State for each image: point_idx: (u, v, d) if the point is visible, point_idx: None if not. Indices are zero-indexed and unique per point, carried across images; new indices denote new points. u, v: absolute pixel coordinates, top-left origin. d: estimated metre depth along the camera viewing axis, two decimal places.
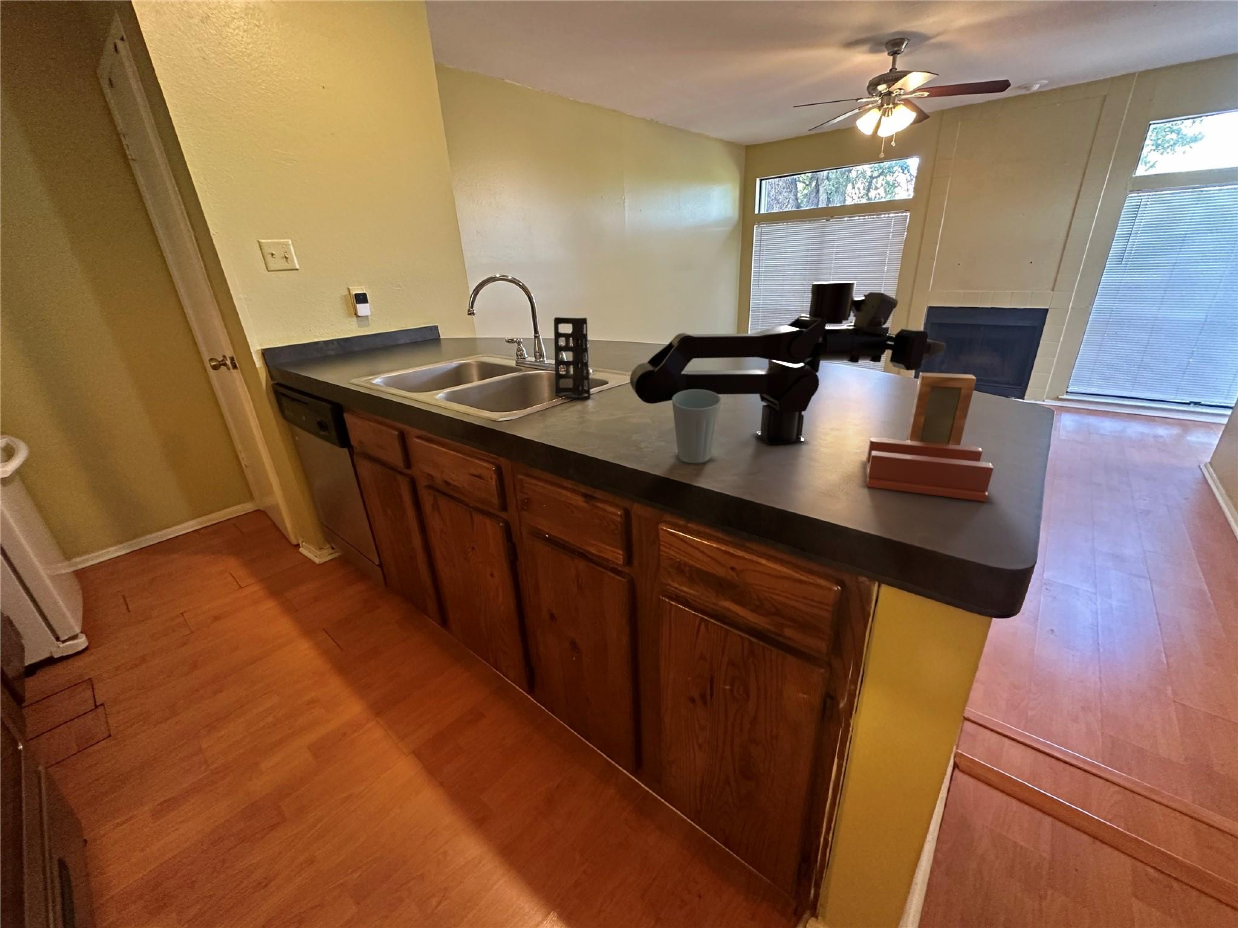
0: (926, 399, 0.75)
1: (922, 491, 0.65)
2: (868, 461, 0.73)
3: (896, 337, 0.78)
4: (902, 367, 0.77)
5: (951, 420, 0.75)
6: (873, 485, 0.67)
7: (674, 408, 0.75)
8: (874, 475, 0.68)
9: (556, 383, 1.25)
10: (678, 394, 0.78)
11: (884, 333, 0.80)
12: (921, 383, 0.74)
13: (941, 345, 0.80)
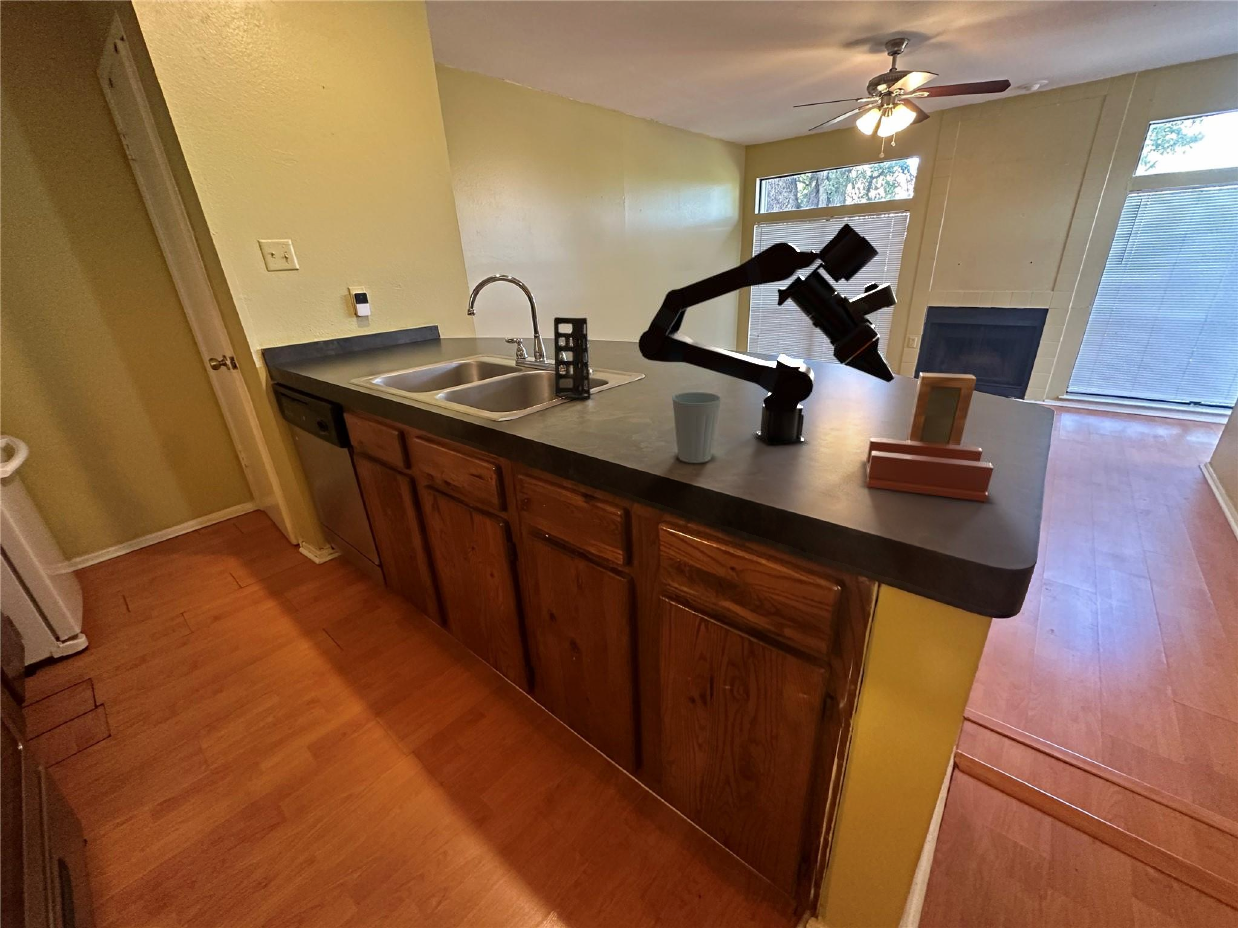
0: (926, 399, 0.75)
1: (922, 491, 0.65)
2: (868, 461, 0.73)
3: (857, 325, 0.72)
4: None
5: (951, 420, 0.75)
6: (873, 485, 0.67)
7: (674, 405, 0.77)
8: (874, 475, 0.68)
9: (556, 383, 1.25)
10: (679, 395, 0.80)
11: (857, 321, 0.74)
12: (921, 383, 0.74)
13: (889, 375, 0.73)
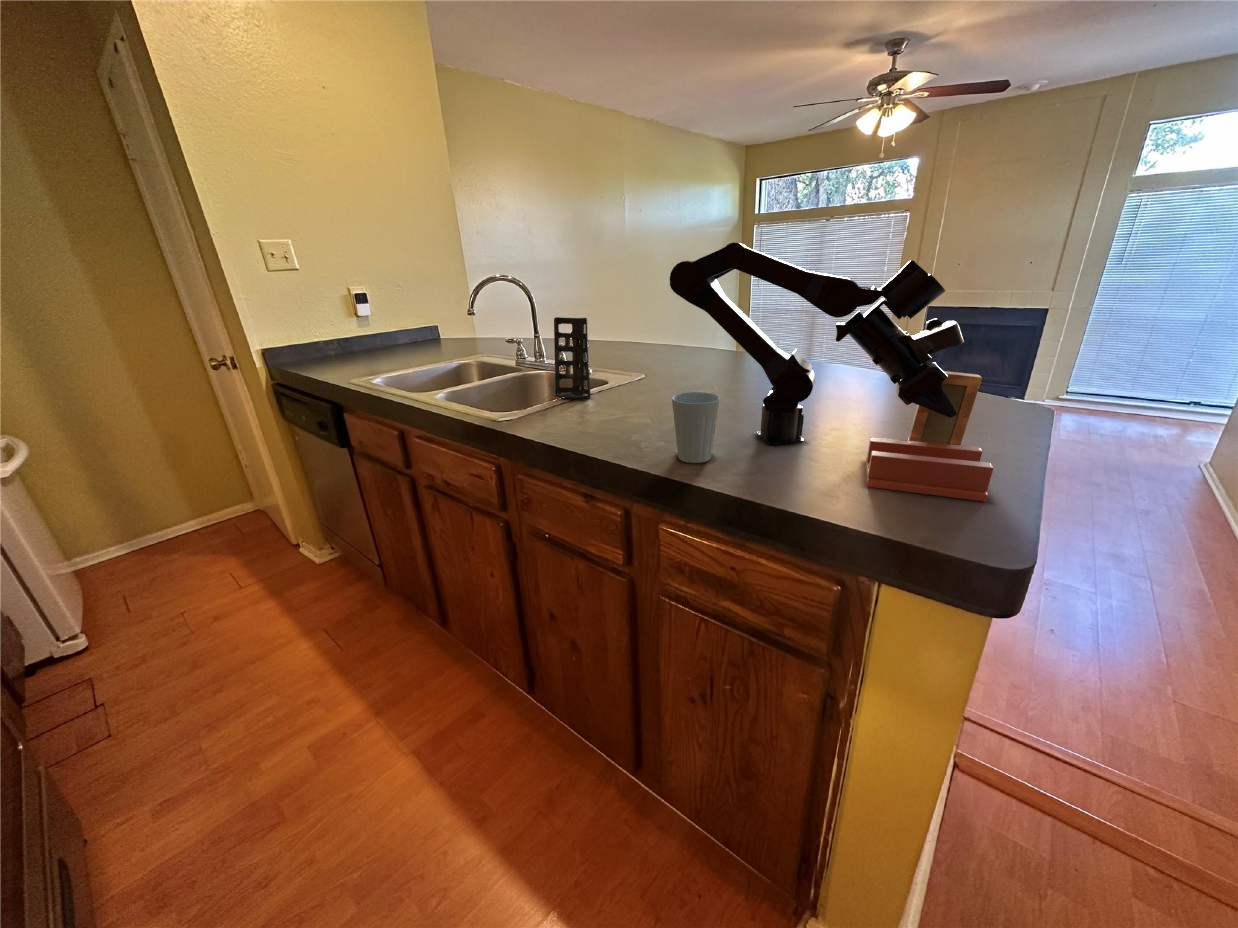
0: None
1: (922, 491, 0.65)
2: (868, 461, 0.73)
3: (923, 365, 0.70)
4: (898, 391, 0.70)
5: (954, 418, 0.75)
6: (873, 485, 0.67)
7: (674, 406, 0.77)
8: (874, 475, 0.68)
9: (556, 383, 1.25)
10: (678, 395, 0.80)
11: (921, 359, 0.72)
12: None
13: (952, 410, 0.73)
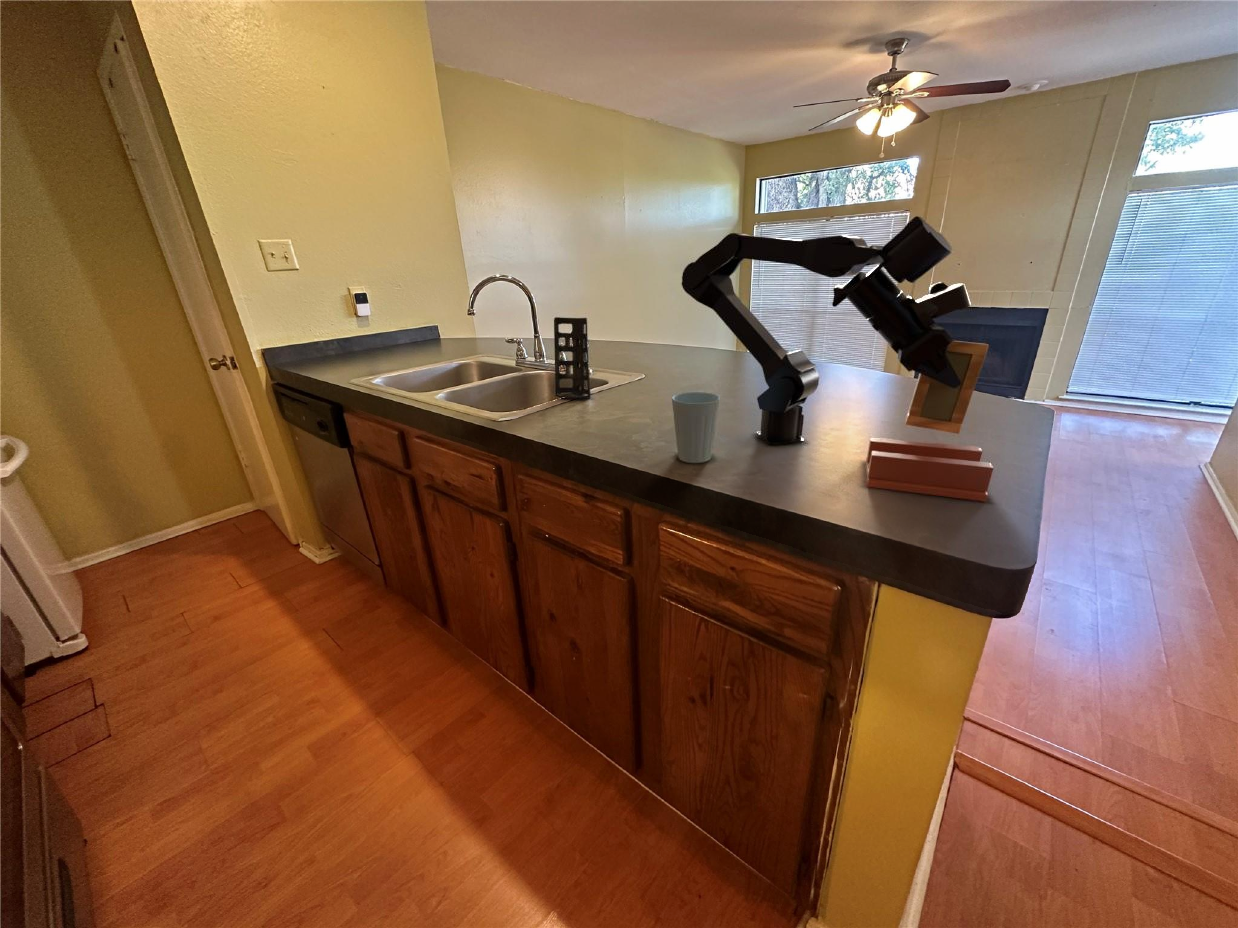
0: None
1: (922, 491, 0.65)
2: (868, 461, 0.73)
3: (927, 328, 0.65)
4: (900, 357, 0.65)
5: (957, 390, 0.70)
6: (873, 485, 0.67)
7: (674, 406, 0.77)
8: (874, 475, 0.68)
9: (556, 383, 1.25)
10: (678, 395, 0.80)
11: (925, 324, 0.67)
12: None
13: (956, 380, 0.69)
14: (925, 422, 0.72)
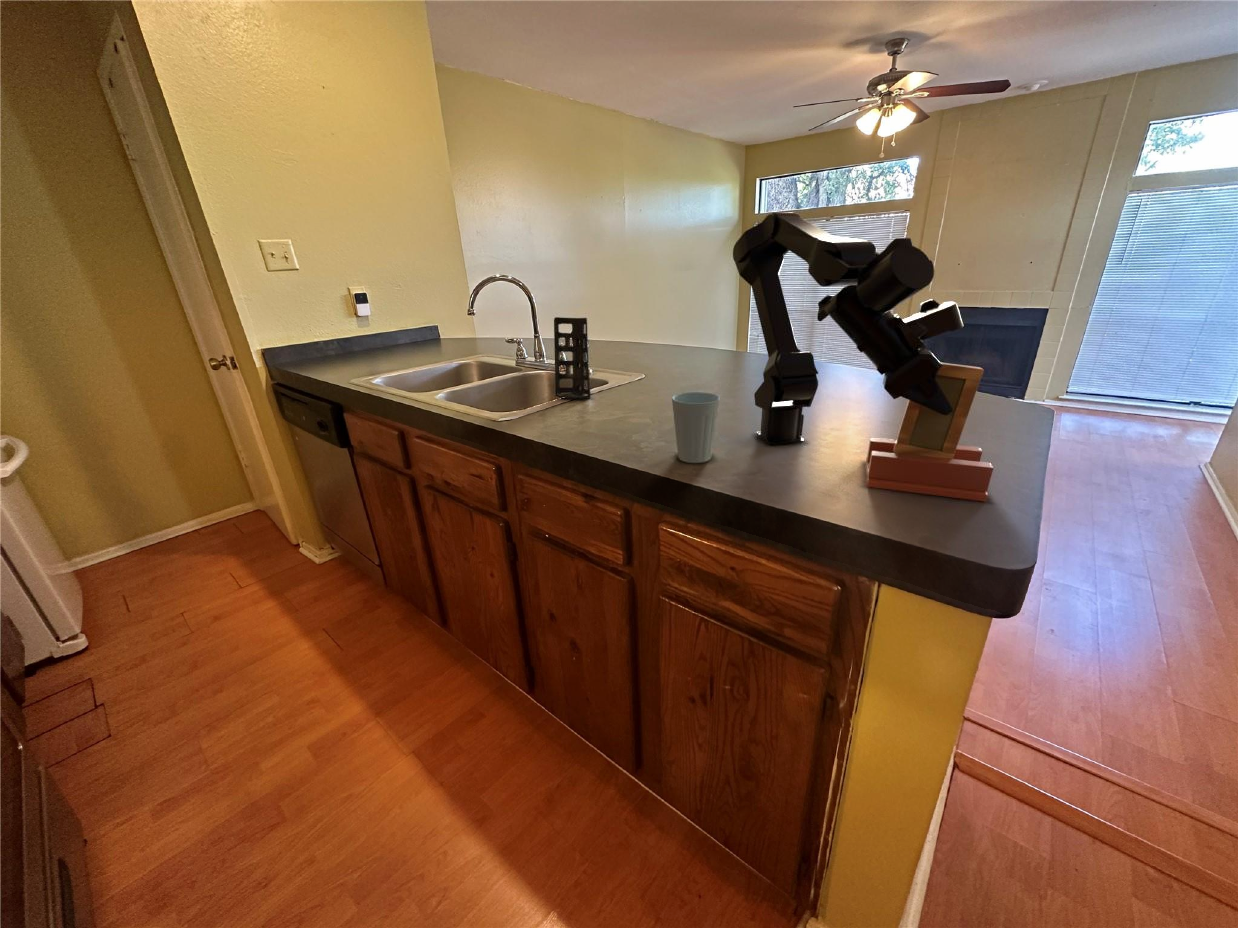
0: None
1: (922, 491, 0.65)
2: (868, 461, 0.73)
3: (914, 352, 0.59)
4: (884, 383, 0.60)
5: (949, 417, 0.64)
6: (873, 485, 0.67)
7: (674, 405, 0.77)
8: (874, 475, 0.68)
9: (556, 383, 1.25)
10: (678, 395, 0.80)
11: (913, 346, 0.61)
12: None
13: (947, 407, 0.63)
14: (915, 451, 0.67)
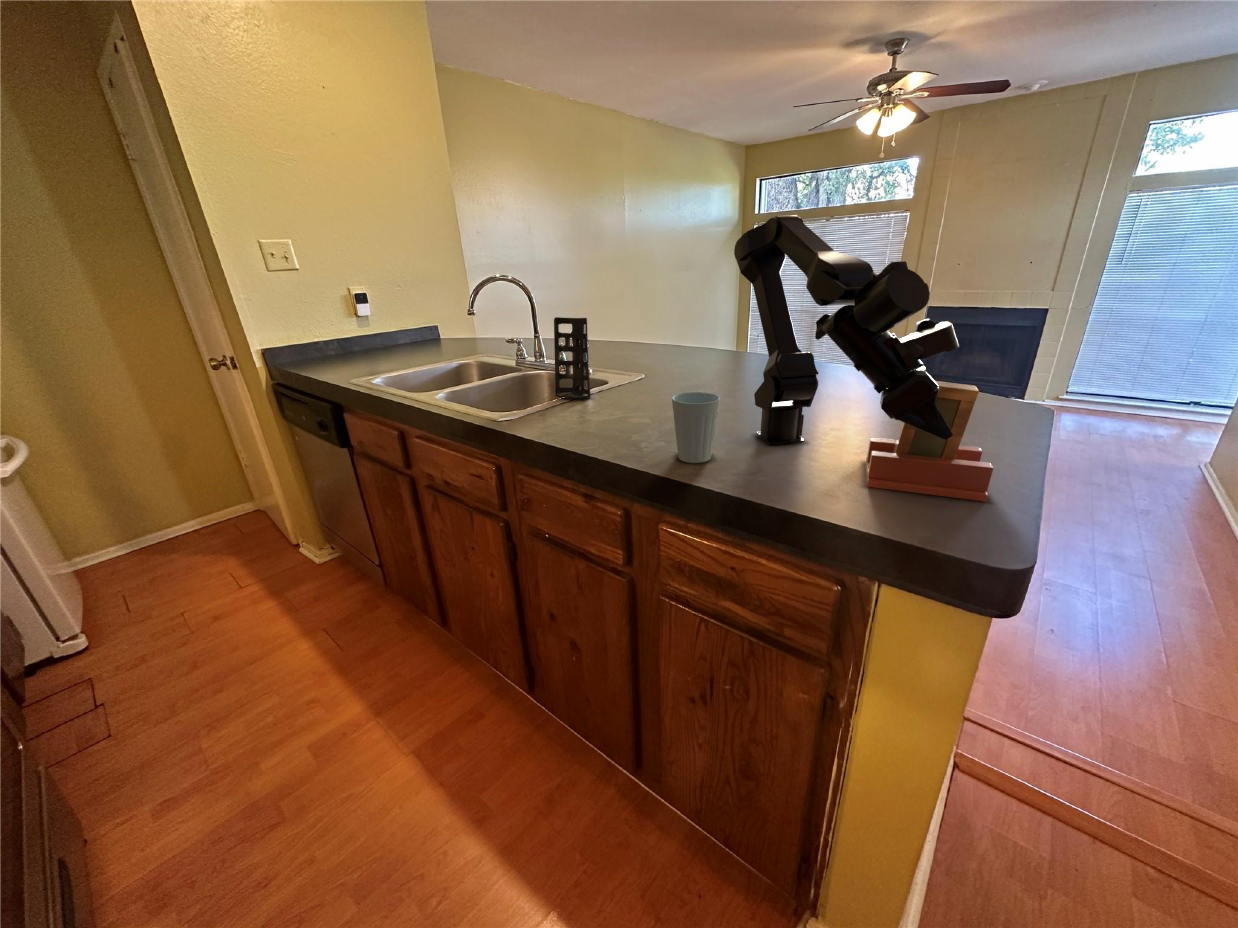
0: None
1: (922, 491, 0.65)
2: (868, 461, 0.73)
3: (911, 372, 0.60)
4: (881, 403, 0.61)
5: None
6: (873, 485, 0.67)
7: (674, 406, 0.77)
8: (874, 475, 0.68)
9: (556, 383, 1.25)
10: (678, 395, 0.80)
11: (909, 366, 0.62)
12: None
13: (947, 431, 0.61)
14: None
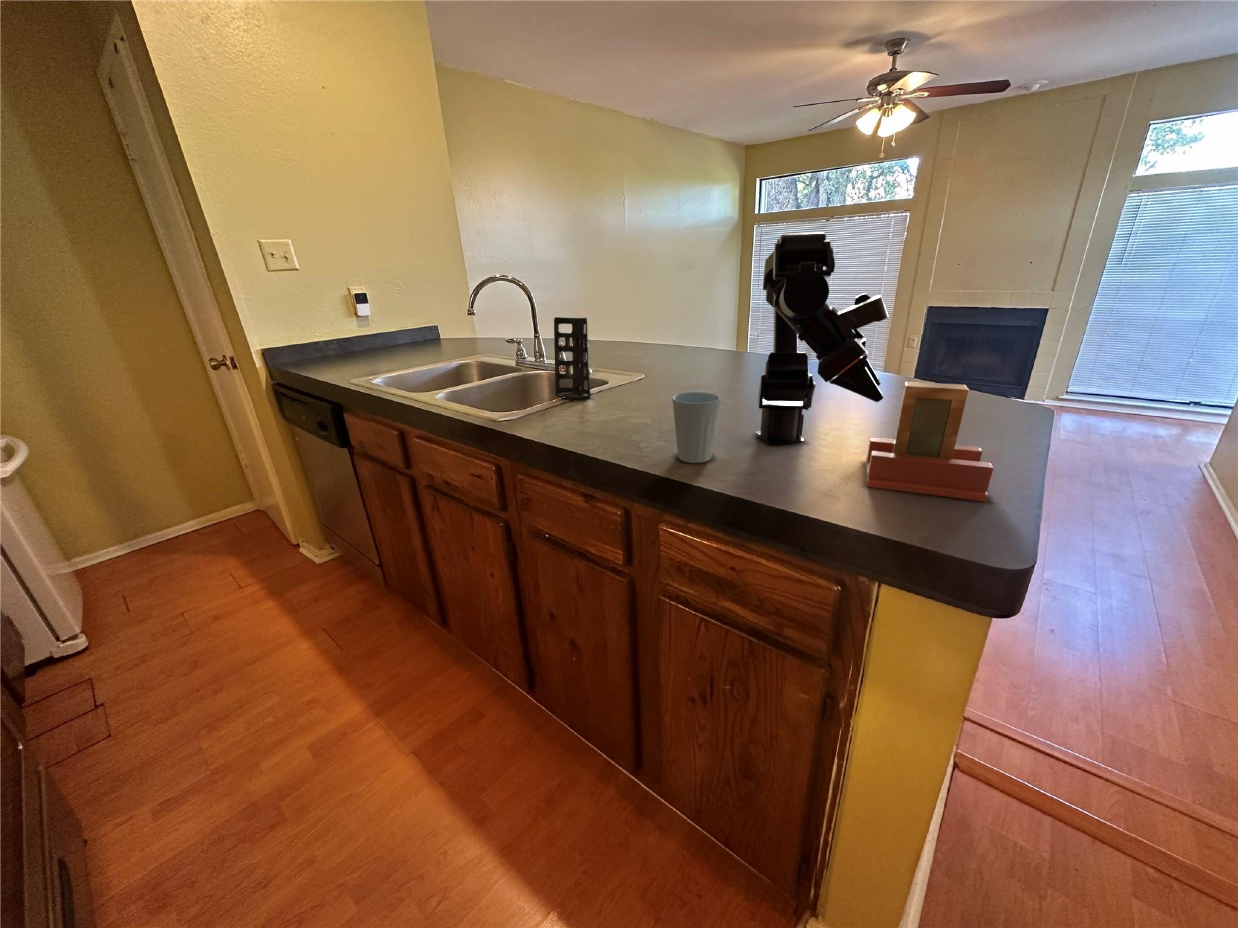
0: (911, 412, 0.65)
1: (922, 491, 0.65)
2: (868, 461, 0.73)
3: (844, 340, 0.66)
4: None
5: (940, 437, 0.65)
6: (873, 485, 0.67)
7: (674, 405, 0.77)
8: (874, 475, 0.68)
9: (556, 383, 1.25)
10: (679, 395, 0.80)
11: (845, 335, 0.69)
12: (905, 394, 0.65)
13: (878, 394, 0.68)
14: None
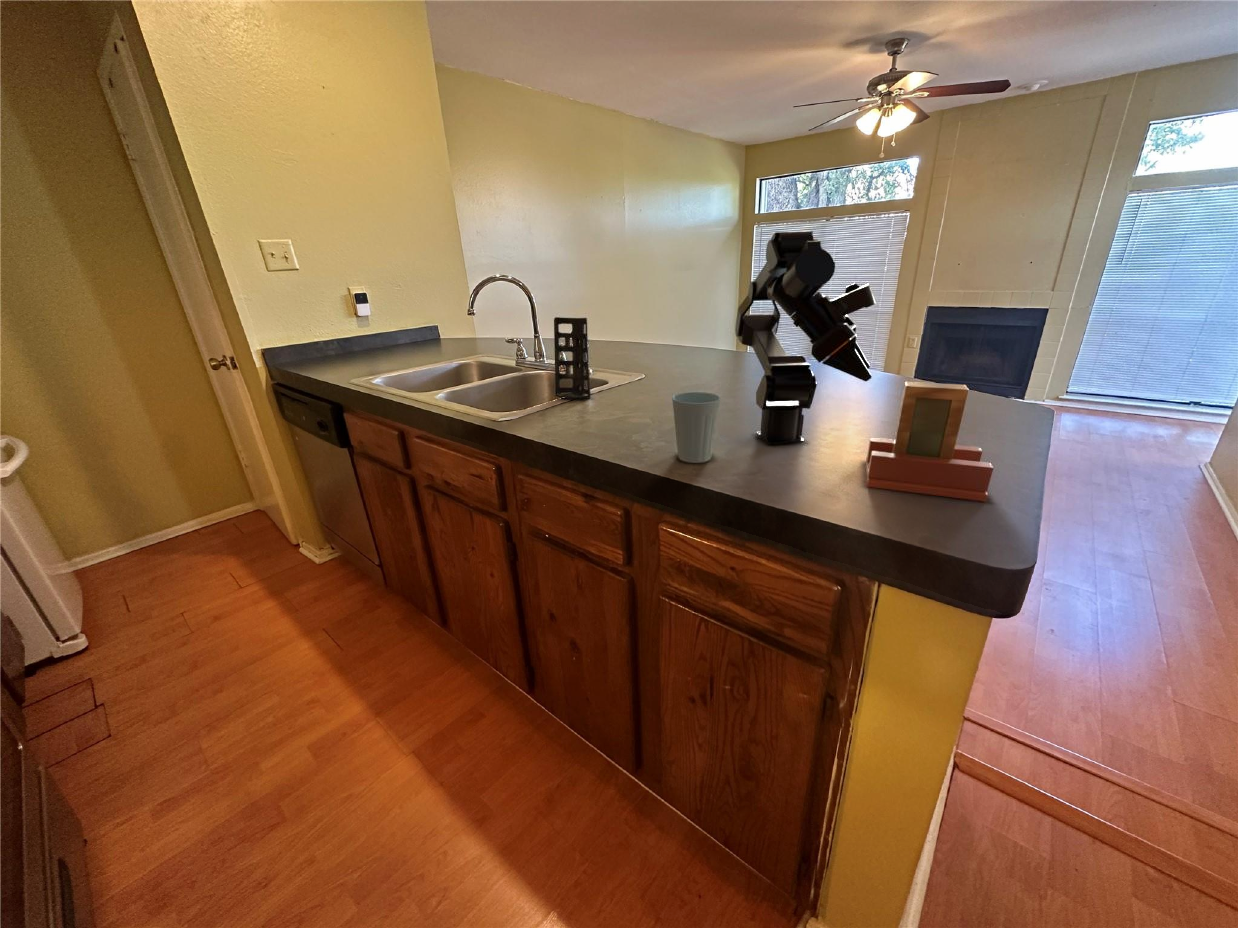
0: (911, 412, 0.65)
1: (922, 491, 0.65)
2: (868, 461, 0.73)
3: (835, 324, 0.73)
4: None
5: (940, 437, 0.65)
6: (873, 485, 0.67)
7: (674, 405, 0.77)
8: (874, 475, 0.68)
9: (556, 383, 1.25)
10: (679, 395, 0.80)
11: (836, 320, 0.75)
12: (905, 394, 0.65)
13: (866, 374, 0.74)
14: None
